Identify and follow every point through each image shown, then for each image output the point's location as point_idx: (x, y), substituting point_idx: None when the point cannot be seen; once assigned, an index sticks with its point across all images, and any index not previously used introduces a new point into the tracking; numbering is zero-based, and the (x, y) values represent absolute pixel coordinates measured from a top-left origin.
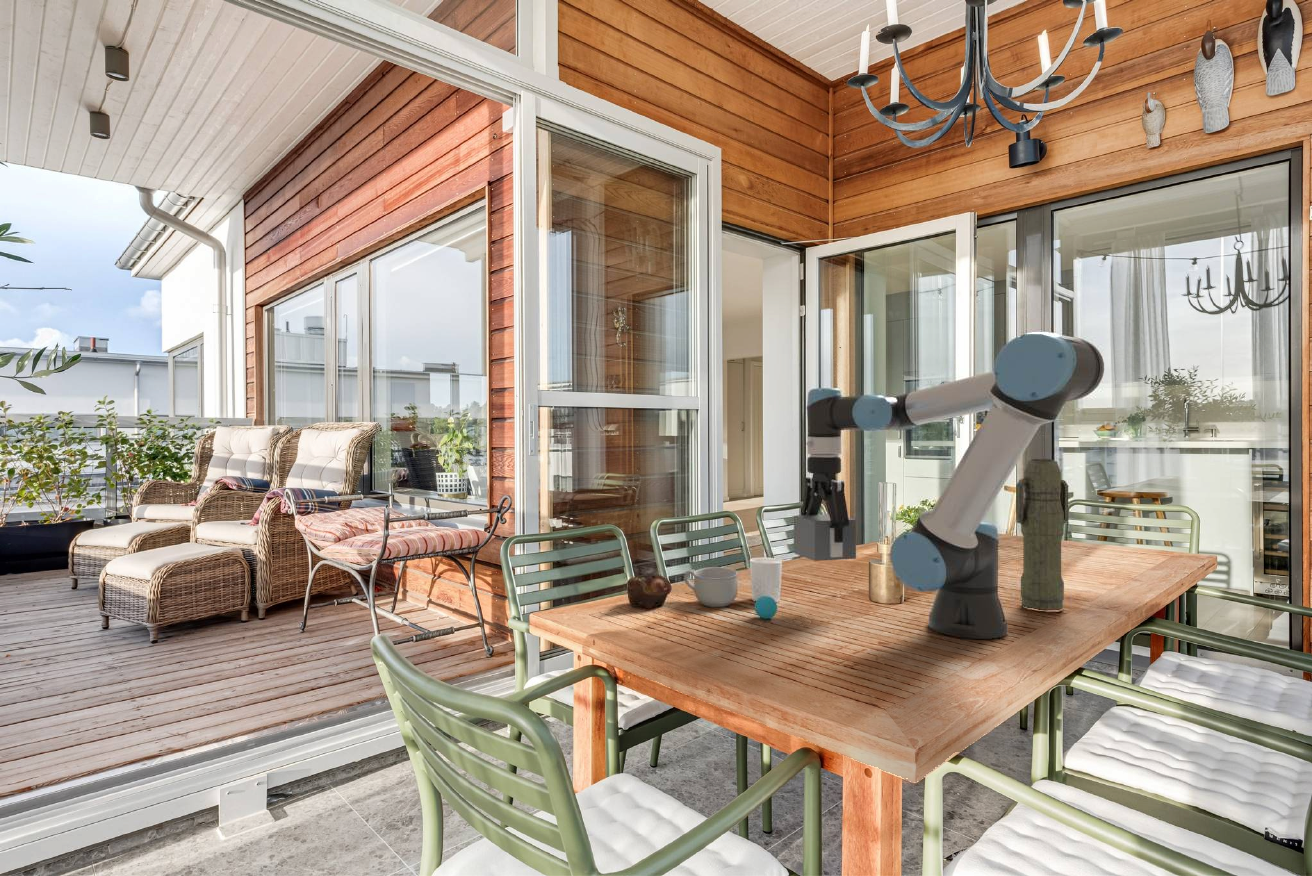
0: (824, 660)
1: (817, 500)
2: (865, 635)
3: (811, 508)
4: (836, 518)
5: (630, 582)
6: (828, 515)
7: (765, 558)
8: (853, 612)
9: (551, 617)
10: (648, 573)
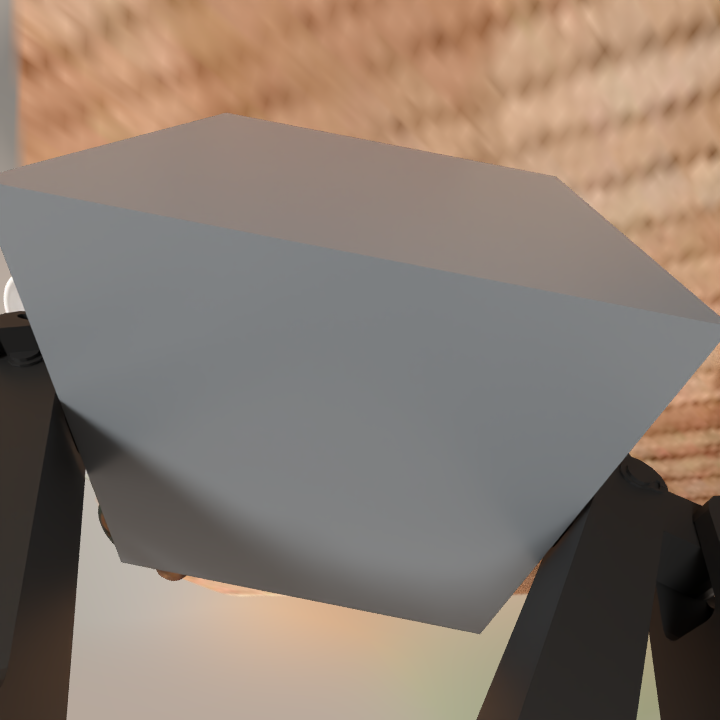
0: (686, 455)
1: (41, 666)
2: (659, 258)
3: (74, 548)
4: (663, 624)
5: (183, 577)
6: (146, 345)
7: (11, 296)
8: (430, 68)
9: (215, 589)
10: None
